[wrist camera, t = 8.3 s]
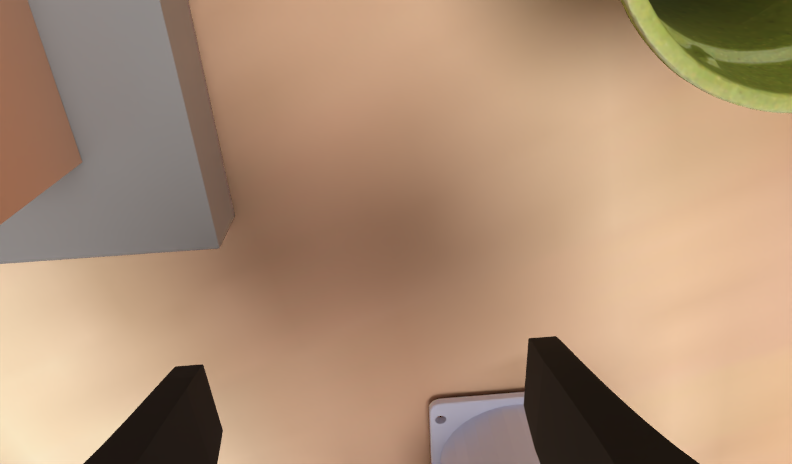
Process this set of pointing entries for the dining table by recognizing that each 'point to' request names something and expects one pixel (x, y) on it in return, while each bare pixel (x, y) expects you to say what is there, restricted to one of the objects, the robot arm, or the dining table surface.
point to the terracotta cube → (29, 114)
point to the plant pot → (723, 46)
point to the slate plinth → (126, 137)
